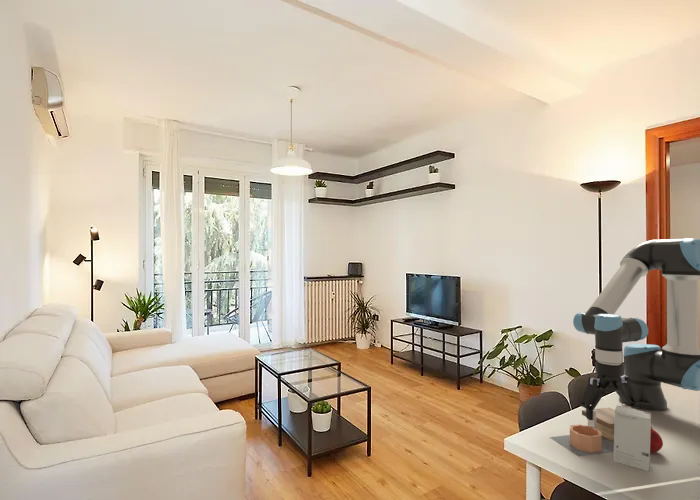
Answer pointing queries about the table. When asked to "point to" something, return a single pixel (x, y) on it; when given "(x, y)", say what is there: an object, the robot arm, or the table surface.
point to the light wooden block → (605, 431)
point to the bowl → (585, 438)
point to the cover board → (604, 417)
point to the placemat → (565, 442)
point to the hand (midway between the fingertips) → (609, 427)
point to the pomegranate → (655, 441)
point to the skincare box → (632, 437)
